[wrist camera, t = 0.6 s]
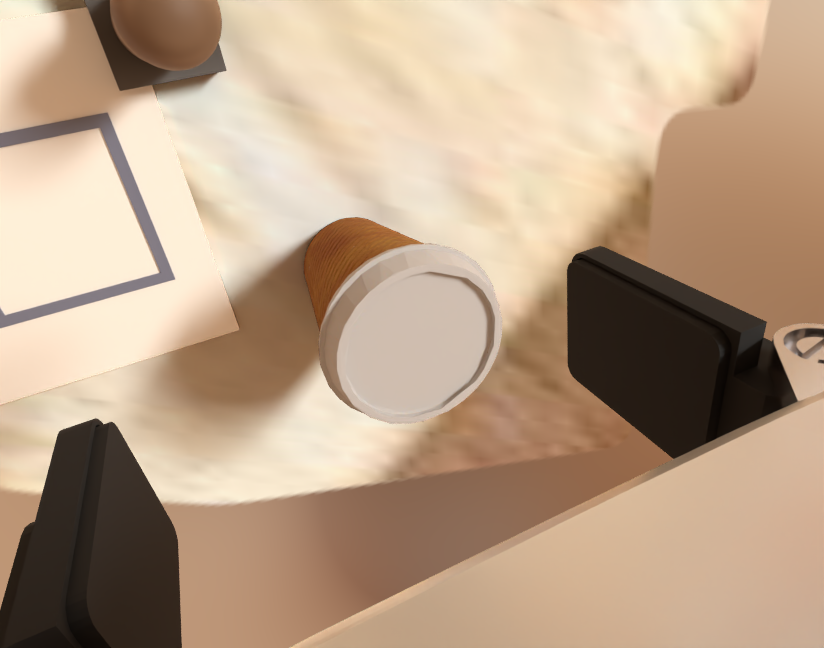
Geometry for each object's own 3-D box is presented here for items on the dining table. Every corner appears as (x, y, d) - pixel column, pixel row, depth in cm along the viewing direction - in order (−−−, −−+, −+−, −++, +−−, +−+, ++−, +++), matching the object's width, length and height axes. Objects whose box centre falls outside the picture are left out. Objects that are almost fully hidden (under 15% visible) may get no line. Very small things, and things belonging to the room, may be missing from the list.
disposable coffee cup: (289, 342, 36) (337, 454, 26) (266, 202, 32) (313, 274, 22) (419, 313, 39) (506, 403, 30) (415, 181, 35) (516, 237, 25)
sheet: (-247, 55, 22) (-253, 56, 21) (122, 2, 25) (122, 2, 25) (-7, 404, 31) (-9, 408, 30) (239, 327, 34) (239, 330, 34)
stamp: (71, -33, 24) (59, -70, 17) (186, -46, 26) (222, -85, 18) (118, 89, 26) (126, 103, 19) (221, 69, 28) (263, 75, 21)
